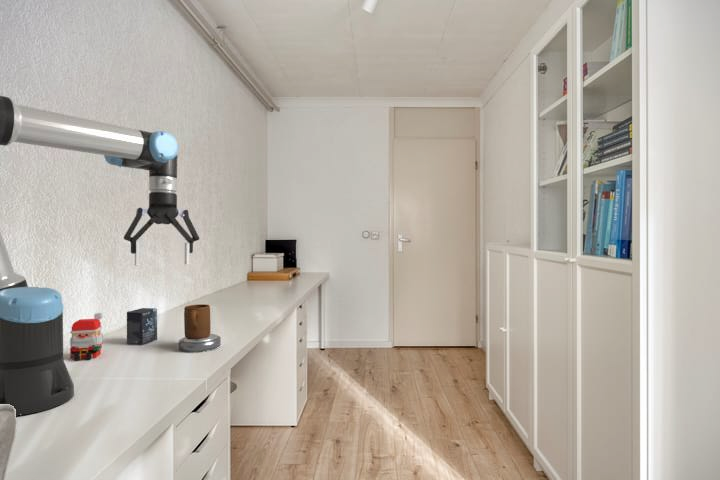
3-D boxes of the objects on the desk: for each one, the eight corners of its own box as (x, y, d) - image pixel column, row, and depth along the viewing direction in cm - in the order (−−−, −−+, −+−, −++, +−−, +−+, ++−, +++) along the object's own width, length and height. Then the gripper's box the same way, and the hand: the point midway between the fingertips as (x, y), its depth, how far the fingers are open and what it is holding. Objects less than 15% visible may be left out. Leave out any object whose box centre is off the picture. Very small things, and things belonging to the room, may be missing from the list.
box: (142, 345, 139) (141, 311, 138) (126, 344, 140) (125, 311, 140) (158, 339, 146) (157, 307, 146) (143, 339, 147) (142, 307, 147)
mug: (206, 341, 129) (205, 309, 129) (179, 343, 128) (178, 311, 128) (212, 333, 141) (211, 303, 141) (187, 334, 139) (186, 304, 139)
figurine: (65, 362, 121) (64, 318, 121) (74, 355, 128) (74, 314, 128) (99, 359, 123) (98, 316, 123) (107, 353, 130) (106, 312, 130)
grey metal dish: (184, 354, 127) (184, 344, 127) (174, 346, 136) (174, 336, 136) (225, 348, 134) (225, 338, 133) (213, 340, 143) (213, 331, 143)
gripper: (116, 188, 119) (115, 266, 119) (209, 194, 133) (209, 264, 133) (113, 190, 126) (112, 265, 125) (203, 196, 140) (202, 263, 139)
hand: (162, 264), depth 129 cm, fingers open, 13 cm apart
